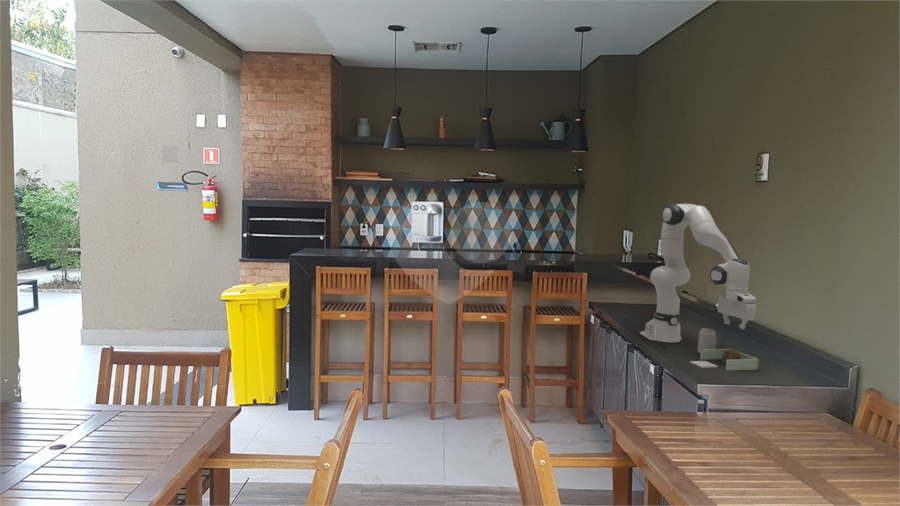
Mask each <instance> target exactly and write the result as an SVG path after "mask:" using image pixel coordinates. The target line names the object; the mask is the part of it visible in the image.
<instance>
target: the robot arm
mask: <svg viewBox="0 0 900 506" xmlns="http://www.w3.org/2000/svg"><path fill="white" fill-rule="evenodd" d="M661 217H662V227H661V231H660V233H661V234H660V245H659V246H660V255H661V257H662V258H663V260H664V265H660V266H658V267H656V268H654V269H652V270H651V272H650V275H649V276H650V281H651V283H652V284H653V286H654V287H655V291H656V311H653V318H652V319H650V320H649V321H648V322H646V323H645V327H644V330H642V331H639V334H640V335H642V336H643V337H645V338H647V339H648V340H650V341H657V342H663V343H679V342H681V341H682V339H683V338H682V336H681V324H680V322H679V321H680V318H681V316H680V306H681V299H680V297H679V295H678V294H677V289H676V288H677V287H680V286H683V285H685V284H686V283H688V282H689V281H690V279H691V272H690V269H689V268H688V267H687V265H686V261H685V257H684V256H685V255H684V235H685V234H684V233H685V232H684V231H685V229H686V227H689V229H690V232H691V233H692V236H693V238H694V240H695V241H696V242H697V244H700V245H702V246H704V247H708V248H711V249H713V250H715V251H717V252H719V254H721V256H722V258H723V259H724V261H725V262H724V263H720V264H716V265H714V266H712V267H711V269H710V272H709V278H710V281H711V282H712V284H714V285H716V286H722V287H723V286H726V288H725V289H726V291H725V292H722V293H721V294H720V295H719V299H718V301H717V302H718V303H717V306H716V310H717V312H718V313H720V314H722V316H723V317H722V318H723V321H724V323H723V324H725V325H730V324H731V320H730V319H729V316H730V317H735V318H736V319H737V318H738V319H741V323H739V324H738V328H739V329H741V330H745V328H746V325H747V323H748V321H754V320H755V318H756V315H757V305H756V303H757V298H756V297H755V296H754V295H752V294H751V293H750V292H749V282H750V279H751V271H750V270H751V269H750V264H749V262H748V261H746V260H745V259H741V258H740V256H739V254H738V253H737V251H736V249H735V248H734V247H733V245H732V243H731V242H730V239H728V238H727V236H725V235H724V234H723V233H722V232H721V230H720V229H719V228H718V226H717V225H716V222H715V219H714V218H713V216H712V215H711V213H710V211H709V210H708V209H707V207H705V206H703V205H700V204H697V203H695V204H692V203H677V204H676V203H671V204H668V205H666V206H665V207H664V208H663V209H662V213H661Z"/></svg>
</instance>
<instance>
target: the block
mask: <svg viewBox="0 0 900 506" xmlns="http://www.w3.org/2000/svg"><path fill="white" fill-rule="evenodd" d="M737 351H738V350H736V349H733V350H723V357H722V359H721V363H722V364H723V365H726V361H727V360H737V359H740V351H738V352H737Z"/></svg>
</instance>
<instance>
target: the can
mask: <svg viewBox="0 0 900 506" xmlns="http://www.w3.org/2000/svg"><path fill="white" fill-rule="evenodd" d="M715 331H716V330H715V329H712V328H706V327H705V328H704V327H702V328H701V329H700V330H699V331H698V341H697V349H696V350H697V353H698V354H699V355H701V349H716V339H717V333H716V332H715Z"/></svg>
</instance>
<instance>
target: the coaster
mask: <svg viewBox="0 0 900 506" xmlns="http://www.w3.org/2000/svg"><path fill="white" fill-rule="evenodd" d="M689 363H690V364H692V365H694V366H697V367H699V368H701V369H704V368H706V369H708V368H709V369H710V368H718V365H716V364H714V363H711V362H709V361H708V360H697V361H696V360H694V361H693V360H690V361H689Z"/></svg>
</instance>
